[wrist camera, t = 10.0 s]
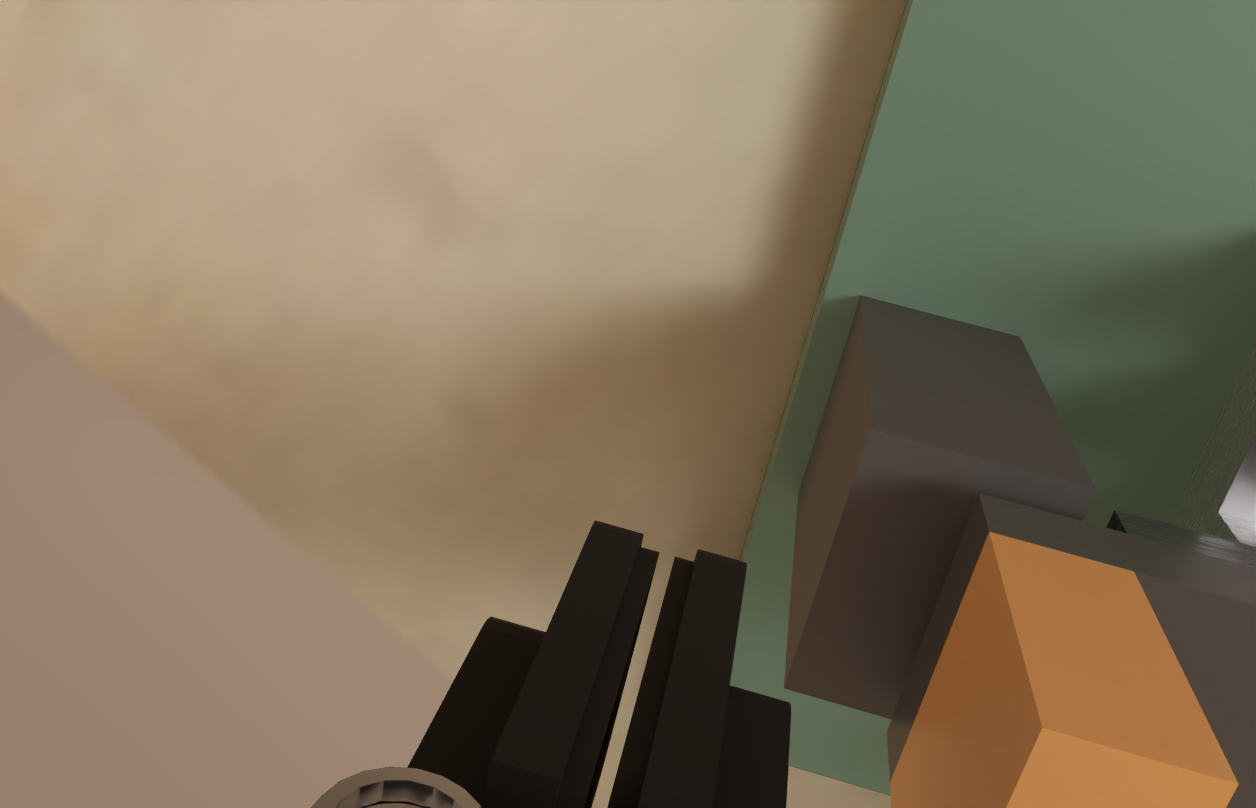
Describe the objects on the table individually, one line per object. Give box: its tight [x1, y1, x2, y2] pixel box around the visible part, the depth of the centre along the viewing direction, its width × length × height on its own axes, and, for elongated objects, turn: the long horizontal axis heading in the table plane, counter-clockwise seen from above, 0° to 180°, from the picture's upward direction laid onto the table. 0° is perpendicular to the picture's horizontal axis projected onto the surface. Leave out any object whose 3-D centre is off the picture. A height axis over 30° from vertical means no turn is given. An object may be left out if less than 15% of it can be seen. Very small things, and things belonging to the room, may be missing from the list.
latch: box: [887, 493, 1256, 808], centre depth 12 cm, size 4×4×4 cm
